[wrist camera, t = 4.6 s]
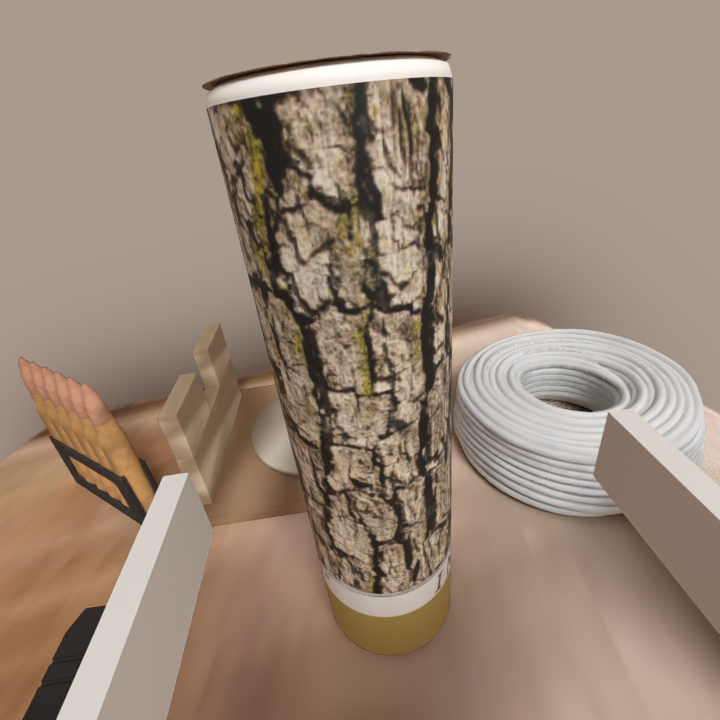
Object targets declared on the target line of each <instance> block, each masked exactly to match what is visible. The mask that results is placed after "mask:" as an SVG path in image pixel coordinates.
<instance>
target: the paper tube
mask: <svg viewBox="0 0 720 720" xmlns="http://www.w3.org/2000/svg"><path fill="white" fill-rule="evenodd" d="M451 57H452V55H451V54H449V53H446V52H440V51H390V52H375V53H362V54H352V55H342V56H333V57H325V58H318V59H310V60H303V61H296V62H291V63H284V64H278V65H272V66H267V67H261V68H256V69H251V70H247V71H242V72H238V73H234V74H230V75H226V76H223V77H220V78H217V79H214V80H211V81H209V82H207V83H205V84H204V85H203V86H202V87H203V89H206V90H209V92H208V95H207V113H208V117H209V120H210V125H211V129H212V133H213V137H214V141H215V144H216V148H217V153H218V157H219V161H220V165H221V169H222V173H223V176H224V180H225V185H226V188H227V193H228V197H229V200H230V204H231V208H232V212H233V216H234V221H235V224H236V228H237V233H238V235H239V240H240V244H241V248H242V252H243V256H244V260H245V264H246V268H247V272H248V276H249V280H250V284H251V288H252V292H253V296H254V300H255V304H256V308H257V312H258V316H259V320H260V324H261V328H262V332H263V336H264V340H265V344H266V348H267V352H268V356H269V360H270V364H271V368H272V372H273V376H274V380H275V384H276V388H277V392H278V396H279V400H280V404H281V408H282V412H283V416H284V420H285V424H286V428H287V432H288V436H289V440H290V444H291V448H292V452H293V456H294V460H295V464H296V468H297V472H298V476H299V480H300V484H301V488H302V492H303V496H304V500H305V504H306V508H307V512H308V516H309V519H310V523H311V527H312V531H313V535H314V539H315V543H316V547H317V551H318V555H319V559H320V563H321V567H322V571H323V575H324V578H325V581H326V585H327V589H328V593H329V597H330V601H331V605H332V609H333V613H334V615H335V618H336V620H337V622H338V624H339V626H340V627H341V629H342V630H343V632H344V633H345V634H346V636H347V637H348V638H349V639H350V640H352V641H353V642H354V643H355V644H357V645H358V646H360V647H361V648H363V649H365V650H367V651H370V652H373V653H376V654H380V655H401V654H405V653H409V652H412V651H414V650H417V649H418V648H420V647H422V646H423V645H425V644H426V643H428V642H429V641H430V640H431V639H432V638H433V637H434V636H435V635H436V634H437V633H438V631H439V630H440V628H441V627H442V625H443V623H444V621H445V618H446V616H447V612H448V609H449V604H450V564H451V436H452V219H453V217H452V215H453V202H452V201H453V200H452V199H453V78H452V74H451V70H450V68H449V64H448V63H447V62H445V61H447V60H449V59H450V58H451Z"/></svg>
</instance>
